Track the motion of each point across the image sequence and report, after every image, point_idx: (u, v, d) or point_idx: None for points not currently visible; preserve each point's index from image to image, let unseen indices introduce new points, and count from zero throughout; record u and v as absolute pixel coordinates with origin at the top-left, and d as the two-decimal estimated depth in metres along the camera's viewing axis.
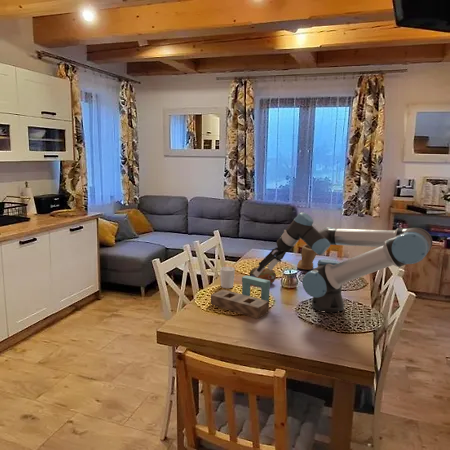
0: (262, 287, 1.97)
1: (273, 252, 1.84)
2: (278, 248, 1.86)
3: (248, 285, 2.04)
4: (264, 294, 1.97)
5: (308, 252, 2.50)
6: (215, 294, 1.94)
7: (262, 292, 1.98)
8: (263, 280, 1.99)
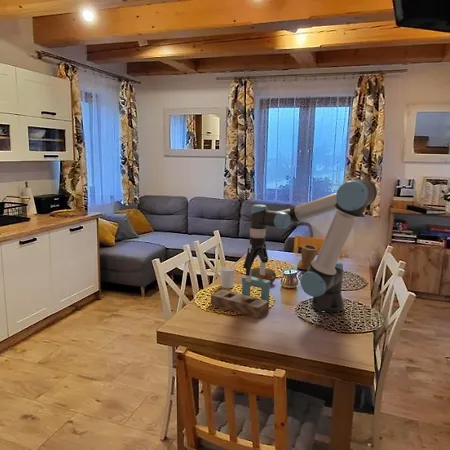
0: (262, 287, 1.97)
1: (249, 250, 1.93)
2: (253, 245, 1.95)
3: (248, 285, 2.04)
4: (264, 294, 1.97)
5: (308, 252, 2.50)
6: (215, 294, 1.94)
7: (262, 292, 1.98)
8: (263, 280, 1.99)
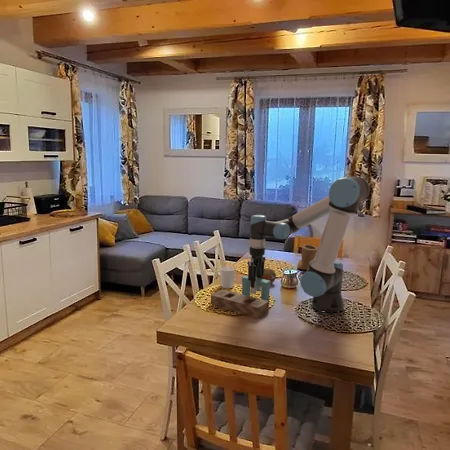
0: (262, 287, 1.97)
1: (249, 264, 1.94)
2: (252, 256, 1.96)
3: (248, 285, 2.04)
4: (264, 294, 1.97)
5: (308, 252, 2.50)
6: (215, 294, 1.94)
7: (262, 292, 1.98)
8: (263, 280, 1.99)
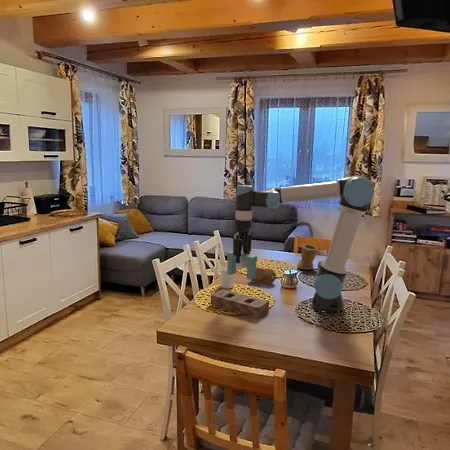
0: (248, 262, 1.84)
1: (234, 237, 1.81)
2: (238, 229, 1.83)
3: (234, 261, 1.91)
4: (250, 270, 1.84)
5: (308, 252, 2.50)
6: (215, 294, 1.94)
7: (248, 268, 1.84)
8: (249, 255, 1.86)
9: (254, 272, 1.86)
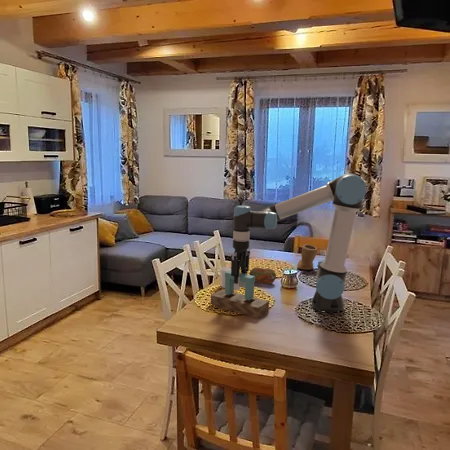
0: (246, 283, 1.84)
1: (232, 258, 1.81)
2: (236, 249, 1.83)
3: (231, 281, 1.91)
4: (248, 290, 1.84)
5: (308, 252, 2.50)
6: (215, 294, 1.94)
7: (246, 288, 1.84)
8: (247, 275, 1.86)
9: (252, 292, 1.86)
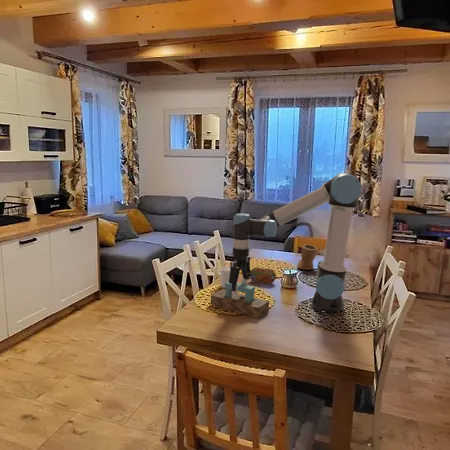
0: (246, 294, 1.85)
1: (232, 265, 1.81)
2: (236, 257, 1.83)
3: None
4: (248, 301, 1.85)
5: (308, 252, 2.50)
6: (215, 294, 1.94)
7: (246, 299, 1.85)
8: (247, 286, 1.87)
9: None
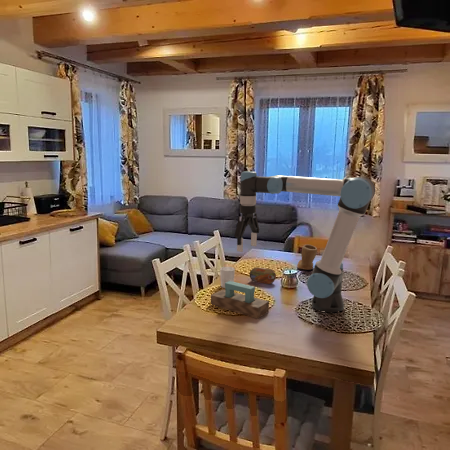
0: (246, 294, 1.85)
1: (240, 218, 1.86)
2: (243, 214, 1.88)
3: (232, 291, 1.92)
4: (248, 301, 1.85)
5: (308, 252, 2.50)
6: (215, 294, 1.94)
7: (246, 299, 1.85)
8: (247, 286, 1.87)
9: None
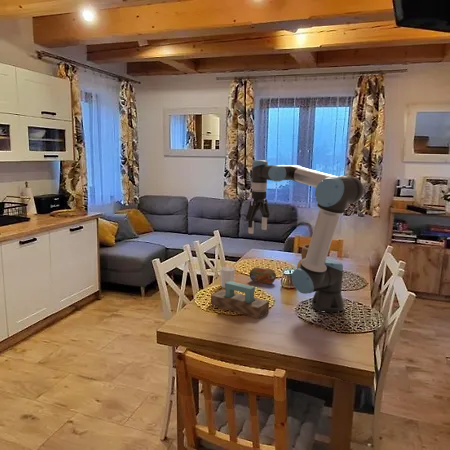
0: (246, 294, 1.85)
1: (251, 203, 2.02)
2: (254, 199, 2.05)
3: (232, 291, 1.92)
4: (248, 301, 1.85)
5: None
6: (215, 294, 1.94)
7: (246, 299, 1.85)
8: (247, 286, 1.87)
9: None
